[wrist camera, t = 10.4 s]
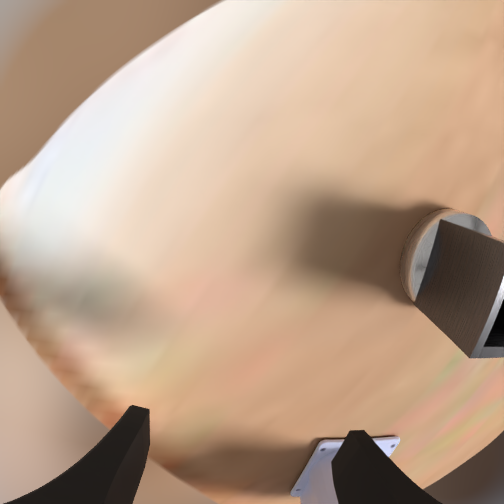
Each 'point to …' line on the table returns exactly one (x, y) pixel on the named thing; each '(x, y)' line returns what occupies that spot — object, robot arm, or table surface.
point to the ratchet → (429, 245)
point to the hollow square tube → (466, 289)
